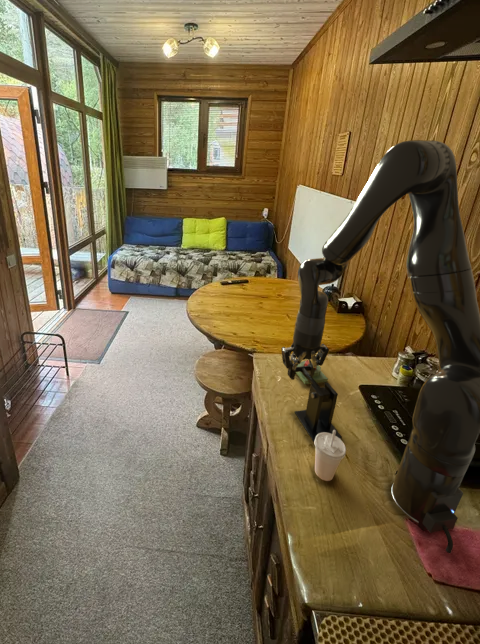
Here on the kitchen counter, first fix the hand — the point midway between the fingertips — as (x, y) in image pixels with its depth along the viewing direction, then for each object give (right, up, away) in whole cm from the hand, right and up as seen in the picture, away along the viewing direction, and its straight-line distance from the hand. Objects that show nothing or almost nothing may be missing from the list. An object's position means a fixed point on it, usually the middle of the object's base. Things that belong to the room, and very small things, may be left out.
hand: (300, 376), depth 91 cm
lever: (+1, 0, -6) cm, 6 cm away
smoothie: (-2, -16, -21) cm, 26 cm away
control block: (+7, -4, +12) cm, 15 cm away
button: (+7, -1, +11) cm, 13 cm away
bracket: (+2, -11, -8) cm, 14 cm away
